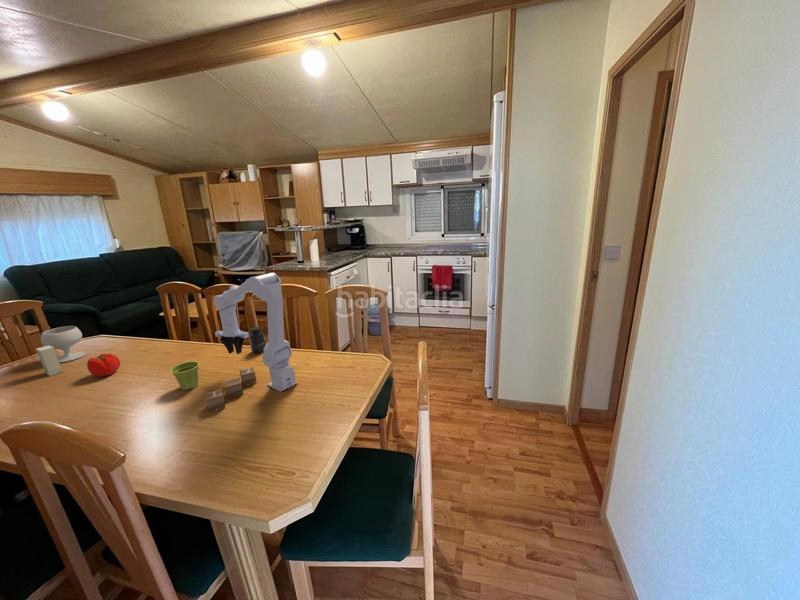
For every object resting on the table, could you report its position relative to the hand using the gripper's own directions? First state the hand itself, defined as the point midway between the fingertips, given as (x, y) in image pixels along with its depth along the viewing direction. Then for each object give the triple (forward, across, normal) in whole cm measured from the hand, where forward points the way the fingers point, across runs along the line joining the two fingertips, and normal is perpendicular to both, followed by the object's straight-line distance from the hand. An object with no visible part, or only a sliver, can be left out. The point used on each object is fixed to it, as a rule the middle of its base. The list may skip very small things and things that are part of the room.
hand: (235, 352), depth 134 cm
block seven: (+10, -9, +6) cm, 15 cm away
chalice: (+10, +98, 0) cm, 98 cm away
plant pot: (+10, +13, +13) cm, 20 cm away
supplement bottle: (+10, +6, -21) cm, 24 cm away
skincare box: (+10, +86, +13) cm, 88 cm away
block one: (+10, -9, +23) cm, 26 cm away
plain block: (+10, -10, +14) cm, 20 cm away
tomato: (+10, +60, +10) cm, 61 cm away
